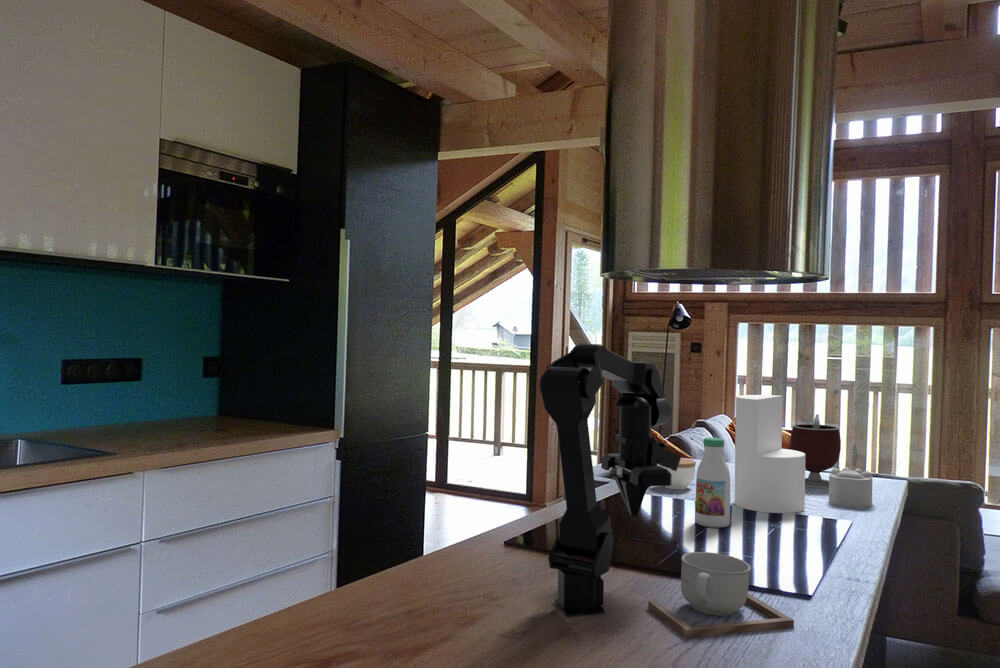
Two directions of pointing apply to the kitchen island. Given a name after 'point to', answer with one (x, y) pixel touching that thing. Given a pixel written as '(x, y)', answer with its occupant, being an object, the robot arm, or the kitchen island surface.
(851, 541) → the kitchen island surface
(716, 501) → the milk bottle
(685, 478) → the lidded jar
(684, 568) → the teacup
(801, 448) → the mate gourd
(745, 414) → the white stepped block
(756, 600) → the frame
